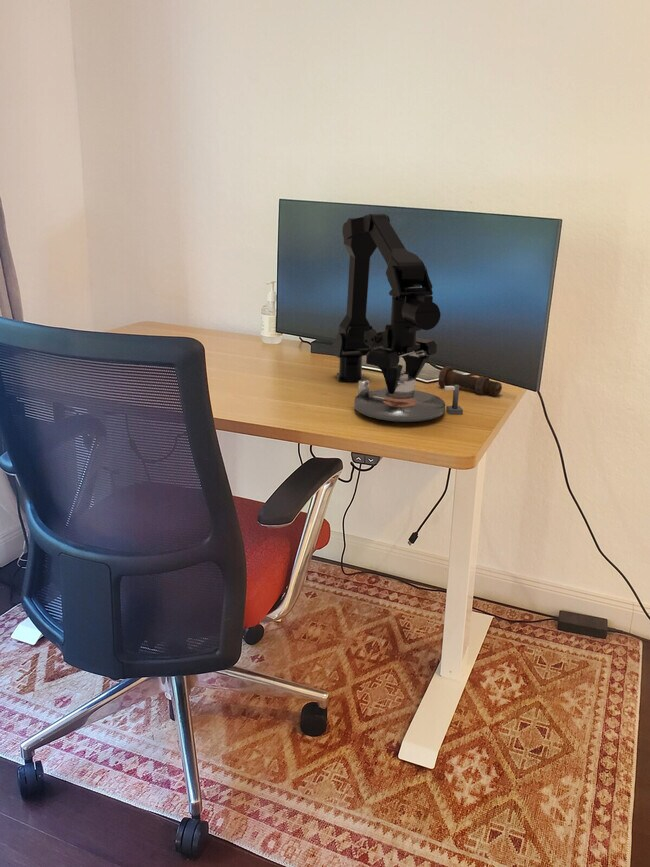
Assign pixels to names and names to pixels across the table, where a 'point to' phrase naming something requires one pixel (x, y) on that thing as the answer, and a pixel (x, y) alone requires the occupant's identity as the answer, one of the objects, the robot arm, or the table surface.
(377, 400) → the turntable
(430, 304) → the robot arm
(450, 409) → the dial pointer
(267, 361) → the table surface
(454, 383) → the bolt
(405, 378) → the cap
